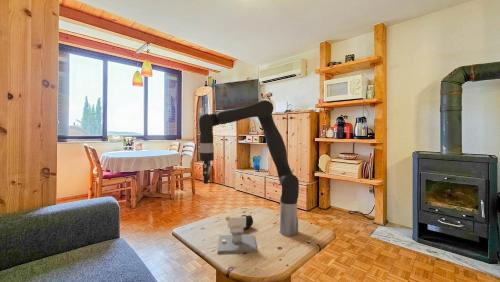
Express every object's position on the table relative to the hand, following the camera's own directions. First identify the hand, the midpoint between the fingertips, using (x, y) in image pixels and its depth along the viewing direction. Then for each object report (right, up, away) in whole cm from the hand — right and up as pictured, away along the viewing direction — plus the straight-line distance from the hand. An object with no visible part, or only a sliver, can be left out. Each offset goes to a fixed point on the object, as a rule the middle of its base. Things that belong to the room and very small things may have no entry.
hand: (206, 181), depth 120 cm
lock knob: (+16, -23, -9) cm, 29 cm away
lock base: (+17, -30, -9) cm, 35 cm away
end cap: (+19, -29, +11) cm, 36 cm away
